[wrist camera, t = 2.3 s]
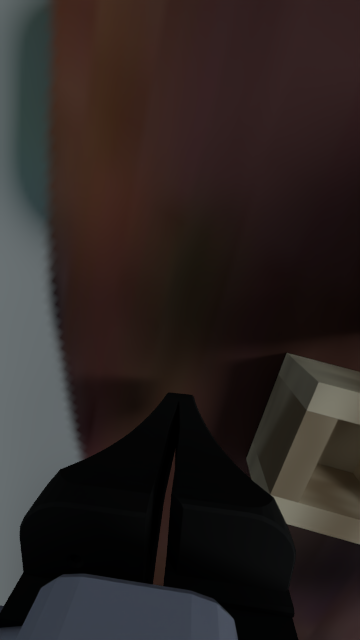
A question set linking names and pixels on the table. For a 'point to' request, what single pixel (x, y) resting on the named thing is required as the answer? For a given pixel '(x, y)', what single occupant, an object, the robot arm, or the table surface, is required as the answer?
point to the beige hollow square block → (312, 447)
